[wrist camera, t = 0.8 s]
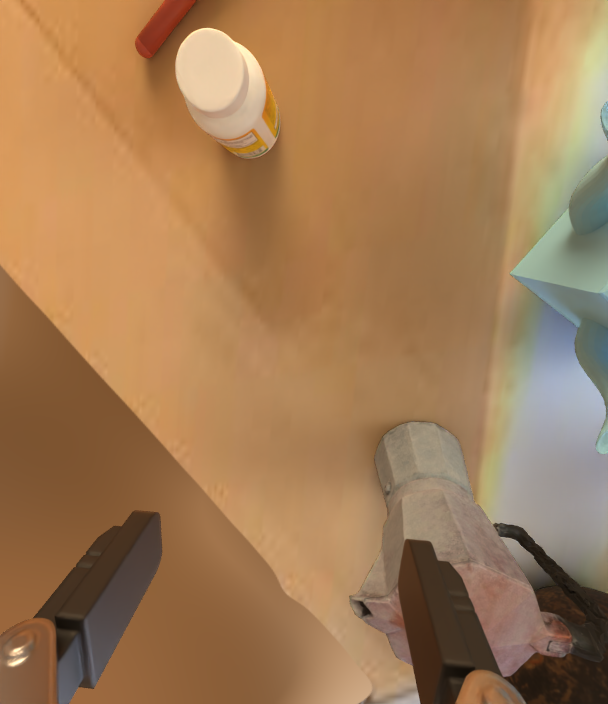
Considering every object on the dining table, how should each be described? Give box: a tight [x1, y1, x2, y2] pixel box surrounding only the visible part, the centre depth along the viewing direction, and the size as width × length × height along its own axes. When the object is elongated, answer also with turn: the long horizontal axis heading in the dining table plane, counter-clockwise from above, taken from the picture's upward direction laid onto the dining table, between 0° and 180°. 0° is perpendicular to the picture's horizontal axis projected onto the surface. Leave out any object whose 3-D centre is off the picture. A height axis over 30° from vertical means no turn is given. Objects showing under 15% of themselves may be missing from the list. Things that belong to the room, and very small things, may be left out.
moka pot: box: [349, 421, 608, 677], centre depth 28 cm, size 10×15×20 cm, turn 94°
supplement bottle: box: [175, 28, 280, 159], centre depth 25 cm, size 5×5×10 cm
